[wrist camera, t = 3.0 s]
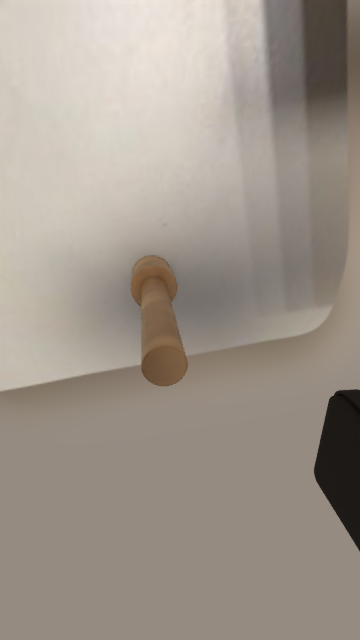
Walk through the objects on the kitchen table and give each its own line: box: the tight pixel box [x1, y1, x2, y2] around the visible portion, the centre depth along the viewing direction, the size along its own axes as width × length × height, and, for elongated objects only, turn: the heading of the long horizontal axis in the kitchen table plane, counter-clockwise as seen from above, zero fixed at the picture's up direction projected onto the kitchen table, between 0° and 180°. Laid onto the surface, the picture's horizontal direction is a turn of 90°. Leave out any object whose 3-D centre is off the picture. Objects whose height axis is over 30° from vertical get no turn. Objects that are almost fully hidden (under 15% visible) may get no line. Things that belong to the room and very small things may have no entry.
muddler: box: [131, 256, 188, 386], centre depth 20 cm, size 3×3×15 cm
